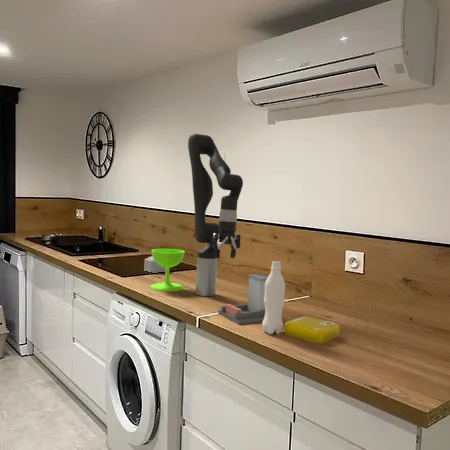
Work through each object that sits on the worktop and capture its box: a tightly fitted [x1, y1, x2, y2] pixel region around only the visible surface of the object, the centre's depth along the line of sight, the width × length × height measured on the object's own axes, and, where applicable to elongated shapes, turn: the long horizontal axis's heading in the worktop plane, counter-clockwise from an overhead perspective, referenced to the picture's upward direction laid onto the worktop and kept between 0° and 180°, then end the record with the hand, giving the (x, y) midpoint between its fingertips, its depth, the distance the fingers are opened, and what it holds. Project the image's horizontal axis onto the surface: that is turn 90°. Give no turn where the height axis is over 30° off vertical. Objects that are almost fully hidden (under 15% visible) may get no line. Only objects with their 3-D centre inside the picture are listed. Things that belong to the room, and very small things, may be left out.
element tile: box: [283, 315, 341, 345], centre depth 167 cm, size 15×15×5 cm
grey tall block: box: [247, 273, 269, 311], centre depth 187 cm, size 8×5×14 cm, turn 29°
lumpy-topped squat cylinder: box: [143, 255, 166, 274], centre depth 272 cm, size 10×13×9 cm
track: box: [217, 303, 265, 326], centre depth 185 cm, size 16×18×4 cm
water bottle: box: [261, 260, 286, 335], centre depth 166 cm, size 7×7×25 cm
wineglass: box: [149, 248, 186, 292], centre depth 230 cm, size 16×16×18 cm
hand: (224, 258), depth 205 cm, fingers open, 8 cm apart
